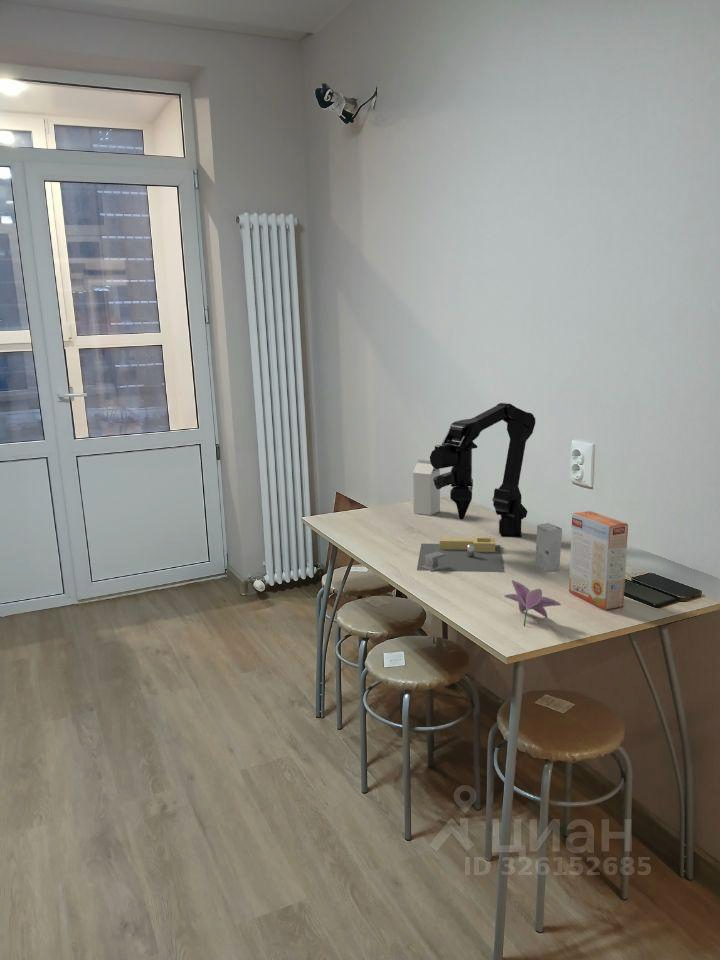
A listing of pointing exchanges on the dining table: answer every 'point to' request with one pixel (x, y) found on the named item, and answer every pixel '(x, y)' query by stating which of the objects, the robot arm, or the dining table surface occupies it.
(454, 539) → the link
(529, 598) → the lily
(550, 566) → the skincare box
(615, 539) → the cracker box
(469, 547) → the cylinder
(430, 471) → the milk carton
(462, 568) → the mat
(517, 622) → the dining table surface
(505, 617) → the dining table surface
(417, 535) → the dining table surface
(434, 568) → the keeper
